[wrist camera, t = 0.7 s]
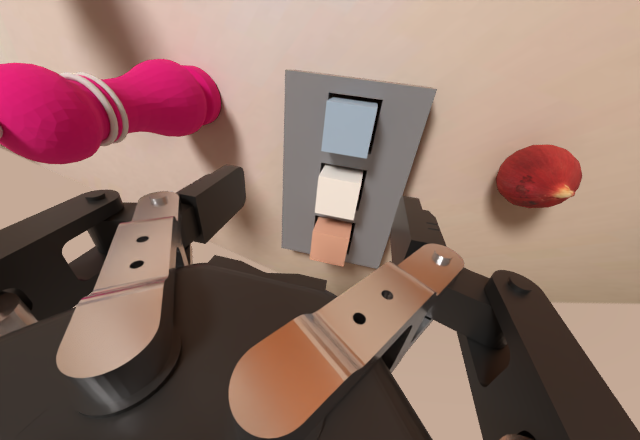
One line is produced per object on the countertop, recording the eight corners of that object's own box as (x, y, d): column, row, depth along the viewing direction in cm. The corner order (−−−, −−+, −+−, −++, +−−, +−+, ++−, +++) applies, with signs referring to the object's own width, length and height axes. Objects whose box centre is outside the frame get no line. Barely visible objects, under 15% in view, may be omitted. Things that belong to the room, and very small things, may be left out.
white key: (363, 170, 27) (361, 183, 24) (356, 203, 30) (353, 220, 26) (325, 163, 28) (318, 176, 25) (321, 197, 30) (314, 212, 27)
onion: (507, 198, 28) (547, 239, 21) (473, 167, 27) (504, 199, 20) (563, 161, 25) (631, 194, 18) (527, 124, 24) (585, 144, 17)
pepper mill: (236, 96, 28) (26, 132, 11) (208, 139, 32) (19, 216, 15) (184, 44, 26) (-154, -3, 10) (161, 96, 30) (-113, 128, 13)
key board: (430, 87, 24) (436, 89, 21) (378, 255, 36) (378, 269, 33) (294, 69, 25) (285, 69, 23) (288, 235, 37) (281, 247, 35)
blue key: (377, 102, 24) (377, 107, 20) (368, 147, 26) (366, 158, 23) (333, 96, 24) (326, 100, 21) (328, 141, 26) (321, 151, 23)
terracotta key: (352, 221, 31) (349, 239, 28) (347, 247, 34) (343, 266, 30) (319, 214, 32) (312, 231, 28) (316, 240, 34) (309, 259, 31)
